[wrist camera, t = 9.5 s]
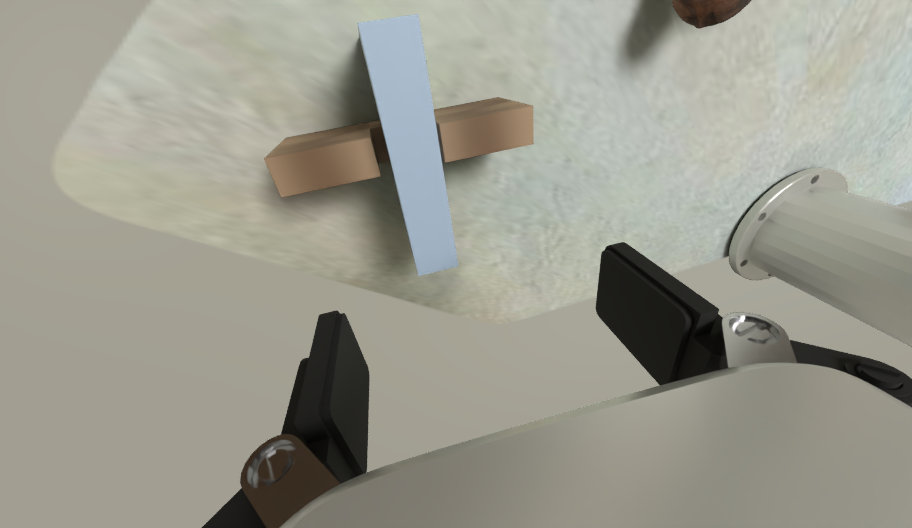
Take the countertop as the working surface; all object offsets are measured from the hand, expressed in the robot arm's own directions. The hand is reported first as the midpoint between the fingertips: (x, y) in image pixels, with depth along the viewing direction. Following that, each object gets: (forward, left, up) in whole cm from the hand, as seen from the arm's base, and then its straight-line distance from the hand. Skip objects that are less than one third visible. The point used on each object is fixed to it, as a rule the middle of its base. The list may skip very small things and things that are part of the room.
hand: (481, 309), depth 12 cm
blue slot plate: (+2, -2, -15) cm, 15 cm away
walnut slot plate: (+2, -3, -15) cm, 15 cm away
